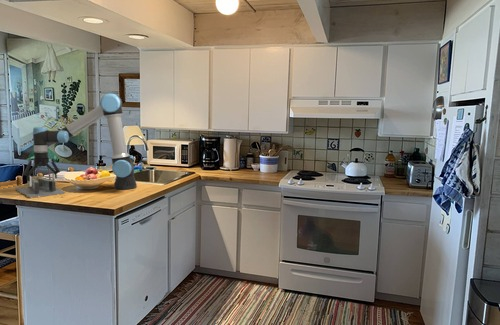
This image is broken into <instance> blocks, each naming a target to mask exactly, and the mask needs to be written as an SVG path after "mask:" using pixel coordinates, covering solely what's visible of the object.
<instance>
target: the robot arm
mask: <svg viewBox="0 0 500 325" xmlns="http://www.w3.org/2000/svg"><path fill="white" fill-rule="evenodd" d="M99 101H100V102H99V104H98V106H97V107H95V108H93V109H91V110H90V111H89V112H87V113H85V114H84V115H82V116H81V117H79V118H77V119H76V120H74V121H73V122H71V123H70V124H68V125H66V126H64V127H63V128H61V129H58V130H48V128H47V127H46V126H35V127H33V129H32V141H33V151H34V153H33V158H34V159H33V160H32V159H28V162H27V165H26V167H25V169H24V171H23V173H22V175H23V176H26V181H29V186H30V187H32V181H31V177H32V175H33V171H34V170H36V169H37V167H38V166H39V167H46V168H47V167H48V168H49V171H51V172H52V176H51V177H52V179H51V180H52V181H55V182H56V179H57V178H58V175H57V174H58V173H60V169H59V167H58V166H57V165H56V163H55V160H54V159H55V158H49V152H48V151H49V150H48V149H49V148H48V143H54V144H55V143H58V144H59V143H61V144H63V143H65V144H67V143H68V142H69V141H70V139H71V138H72V137H75V135H77V134H79V133H80V132H82V131H84V130H85V129H86V128H89V127H90V126H91V125H93V124H94V123H96V122H98V121H99V120H101V119H103V118H106V122H107V128H108V134H109V138H110V143H111V150H112V154H113V155H112V156H111V164H112V167H111V170H112V173H113V174H114V175H115V176H116V178H115V181H114V183H113V188H114V189H116V190H120V191H121V190H124V191H126V190H133V189H136V188H137V187H138V185H137V182H136V179H135V178H136V177H135V162H134V161H135V157H134V156H133V155H130V154H129V153H128V151H127V145H126V140H125V133H124V127H123V122H122V121H123V120H122V116H123V114H124V113H123V100H122V98H121V97H120V96H119V95H117V94H114V93H111V92H110V93H106V94H104V95H103V96H102V97H101V98H100V100H99ZM34 163H35V165H34ZM49 163H51V165H52V166H53V167H52V166H50V164H49ZM32 164H33V166H32ZM31 166H32V167H31ZM30 168H31V169H30ZM34 172H35V171H34Z"/></svg>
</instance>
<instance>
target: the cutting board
mask: <svg viewBox="0 0 500 325" xmlns="http://www.w3.org/2000/svg"><path fill="white" fill-rule="evenodd" d="M15 191H17V192H18V191H19V192H18V193H20V192H21V193H20V194H22V193H23V194H25V195H26V196H25V195H24V196H25V197H27V196H28V197H30V198H29V199H32V198H31V197H37V198H39V197H38V196H44V197H48V196H47V195H52V196H57V195H56V194H59V195H65V194H66V191H64V190H62V189H60V188H58V187H56V191H50V190H47V189H43V188H39V193H35V191H34V190H33V188H28V186H22V187H16V188H15ZM64 193H65V194H64ZM23 194H22V195H23ZM28 197H27V198H28Z"/></svg>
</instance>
